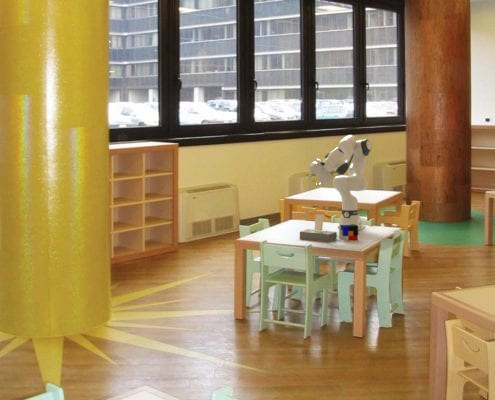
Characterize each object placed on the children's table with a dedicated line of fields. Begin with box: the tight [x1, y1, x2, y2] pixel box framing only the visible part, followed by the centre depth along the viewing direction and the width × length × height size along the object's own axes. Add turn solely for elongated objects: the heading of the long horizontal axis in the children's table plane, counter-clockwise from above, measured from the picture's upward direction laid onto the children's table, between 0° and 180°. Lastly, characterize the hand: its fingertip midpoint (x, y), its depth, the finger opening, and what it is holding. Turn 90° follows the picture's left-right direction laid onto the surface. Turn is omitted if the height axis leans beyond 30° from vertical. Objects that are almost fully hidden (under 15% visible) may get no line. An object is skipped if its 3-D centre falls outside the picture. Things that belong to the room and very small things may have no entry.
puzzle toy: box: [338, 223, 359, 242], centre depth 566 cm, size 10×10×10 cm
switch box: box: [299, 228, 338, 243], centre depth 567 cm, size 12×22×5 cm, turn 59°
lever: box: [314, 210, 325, 231], centre depth 567 cm, size 3×6×13 cm, turn 59°
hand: (312, 181), depth 583 cm, fingers open, 8 cm apart
